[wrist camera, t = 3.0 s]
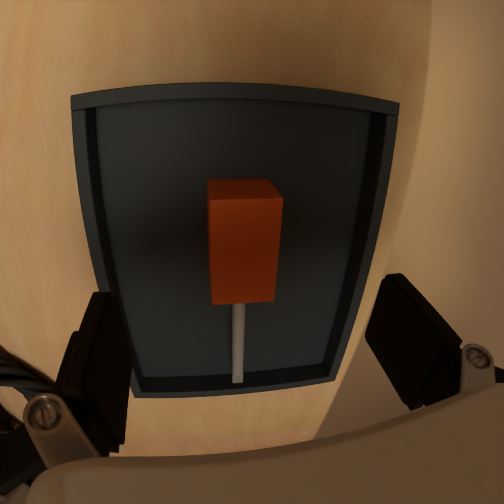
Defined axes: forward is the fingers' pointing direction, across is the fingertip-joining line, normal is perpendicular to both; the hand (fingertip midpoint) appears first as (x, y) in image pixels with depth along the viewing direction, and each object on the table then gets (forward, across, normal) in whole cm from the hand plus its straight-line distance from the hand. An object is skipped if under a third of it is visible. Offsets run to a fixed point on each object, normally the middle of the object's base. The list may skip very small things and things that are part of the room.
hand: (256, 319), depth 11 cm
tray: (+7, 0, +2) cm, 8 cm away
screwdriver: (+7, 0, +4) cm, 8 cm away
